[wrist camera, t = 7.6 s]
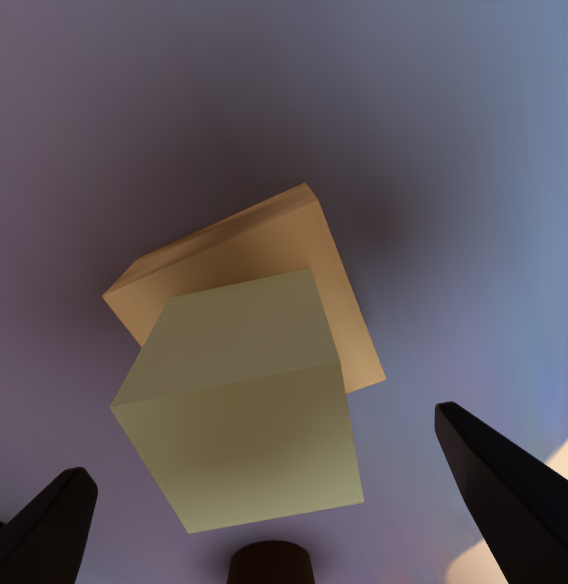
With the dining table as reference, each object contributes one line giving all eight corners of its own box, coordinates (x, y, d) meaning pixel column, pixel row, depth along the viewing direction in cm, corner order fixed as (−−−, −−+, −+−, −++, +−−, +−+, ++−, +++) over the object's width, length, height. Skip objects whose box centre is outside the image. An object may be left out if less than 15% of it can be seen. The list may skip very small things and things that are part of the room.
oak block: (224, 379, 18) (214, 440, 15) (140, 255, 15) (101, 296, 11) (361, 327, 17) (386, 379, 14) (304, 180, 14) (318, 199, 10)
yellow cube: (213, 401, 14) (188, 533, 9) (169, 298, 12) (109, 407, 7) (331, 377, 14) (364, 502, 9) (310, 267, 11) (340, 361, 7)
